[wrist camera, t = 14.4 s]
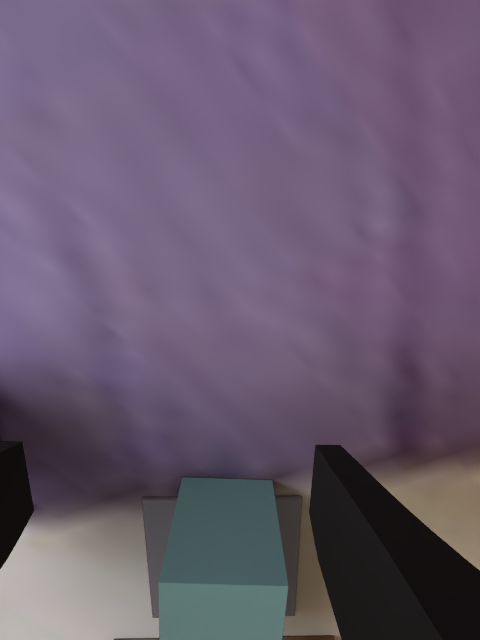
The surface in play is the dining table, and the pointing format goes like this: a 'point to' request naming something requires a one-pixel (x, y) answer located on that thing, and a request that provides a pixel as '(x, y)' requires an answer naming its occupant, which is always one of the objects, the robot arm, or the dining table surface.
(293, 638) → the stopper strip
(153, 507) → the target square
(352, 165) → the dining table surface
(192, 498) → the teal rectangular box
